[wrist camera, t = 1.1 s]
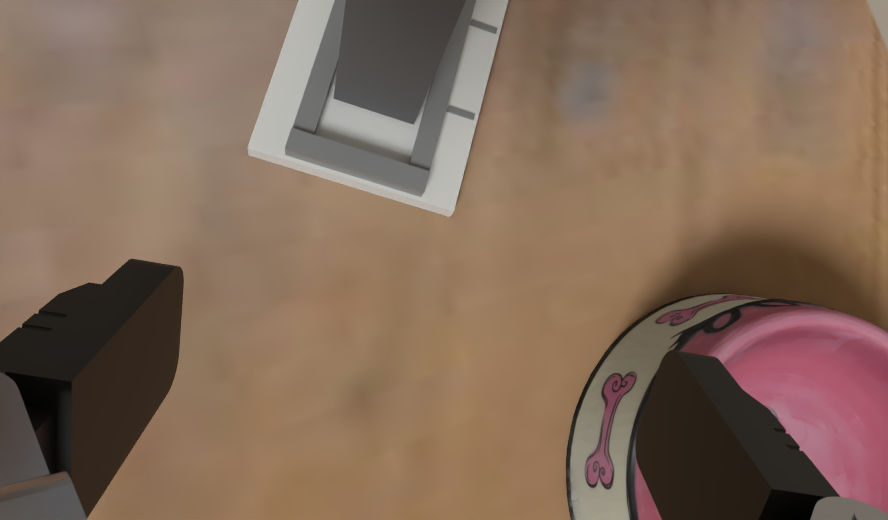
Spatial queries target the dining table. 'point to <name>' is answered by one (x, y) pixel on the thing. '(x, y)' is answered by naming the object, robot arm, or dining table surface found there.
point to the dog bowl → (759, 374)
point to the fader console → (369, 133)
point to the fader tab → (392, 53)
